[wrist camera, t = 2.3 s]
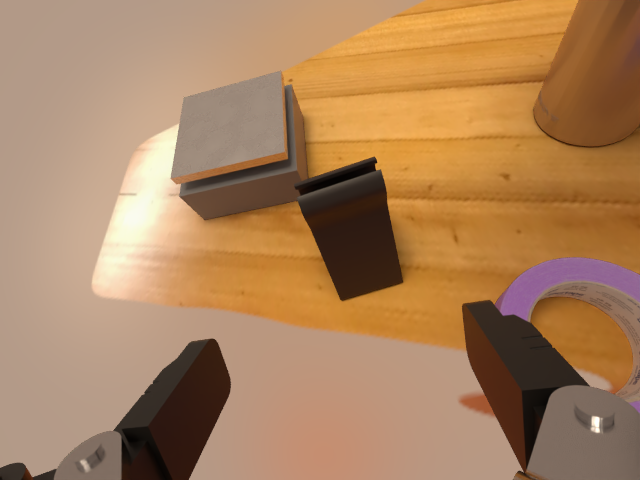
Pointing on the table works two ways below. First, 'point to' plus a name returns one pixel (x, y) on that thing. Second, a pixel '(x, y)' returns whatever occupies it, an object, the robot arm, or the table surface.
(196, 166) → the pan
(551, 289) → the masking tape
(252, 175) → the base
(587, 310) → the table surface
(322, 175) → the phone stand
